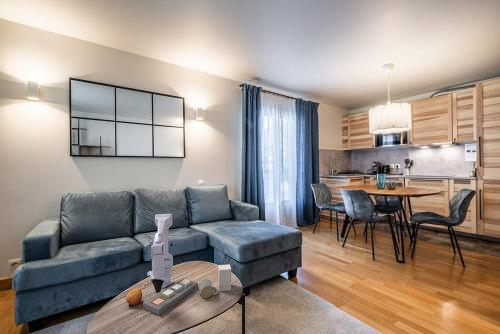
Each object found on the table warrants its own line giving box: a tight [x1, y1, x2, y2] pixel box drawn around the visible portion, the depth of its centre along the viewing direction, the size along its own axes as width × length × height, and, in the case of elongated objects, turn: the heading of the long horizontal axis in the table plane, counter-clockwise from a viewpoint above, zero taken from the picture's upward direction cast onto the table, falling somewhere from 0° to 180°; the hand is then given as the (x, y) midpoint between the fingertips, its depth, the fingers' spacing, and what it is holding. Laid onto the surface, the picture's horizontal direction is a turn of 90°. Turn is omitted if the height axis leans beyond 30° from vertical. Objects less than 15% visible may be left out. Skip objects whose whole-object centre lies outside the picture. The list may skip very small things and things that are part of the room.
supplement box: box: [217, 263, 232, 292], centre depth 140 cm, size 7×7×13 cm
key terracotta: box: [152, 298, 165, 306], centre depth 121 cm, size 4×4×2 cm
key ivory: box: [180, 278, 192, 287], centre depth 138 cm, size 4×4×2 cm
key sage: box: [162, 289, 174, 299], centre depth 127 cm, size 4×4×2 cm
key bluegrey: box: [171, 284, 183, 293], centre depth 132 cm, size 4×4×2 cm
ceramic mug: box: [198, 278, 219, 299], centre depth 132 cm, size 11×8×8 cm
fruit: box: [125, 287, 143, 306], centre depth 125 cm, size 8×8×8 cm
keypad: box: [142, 277, 199, 316], centre depth 130 cm, size 12×29×3 cm, turn 152°
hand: (158, 292), depth 121 cm, fingers closed
